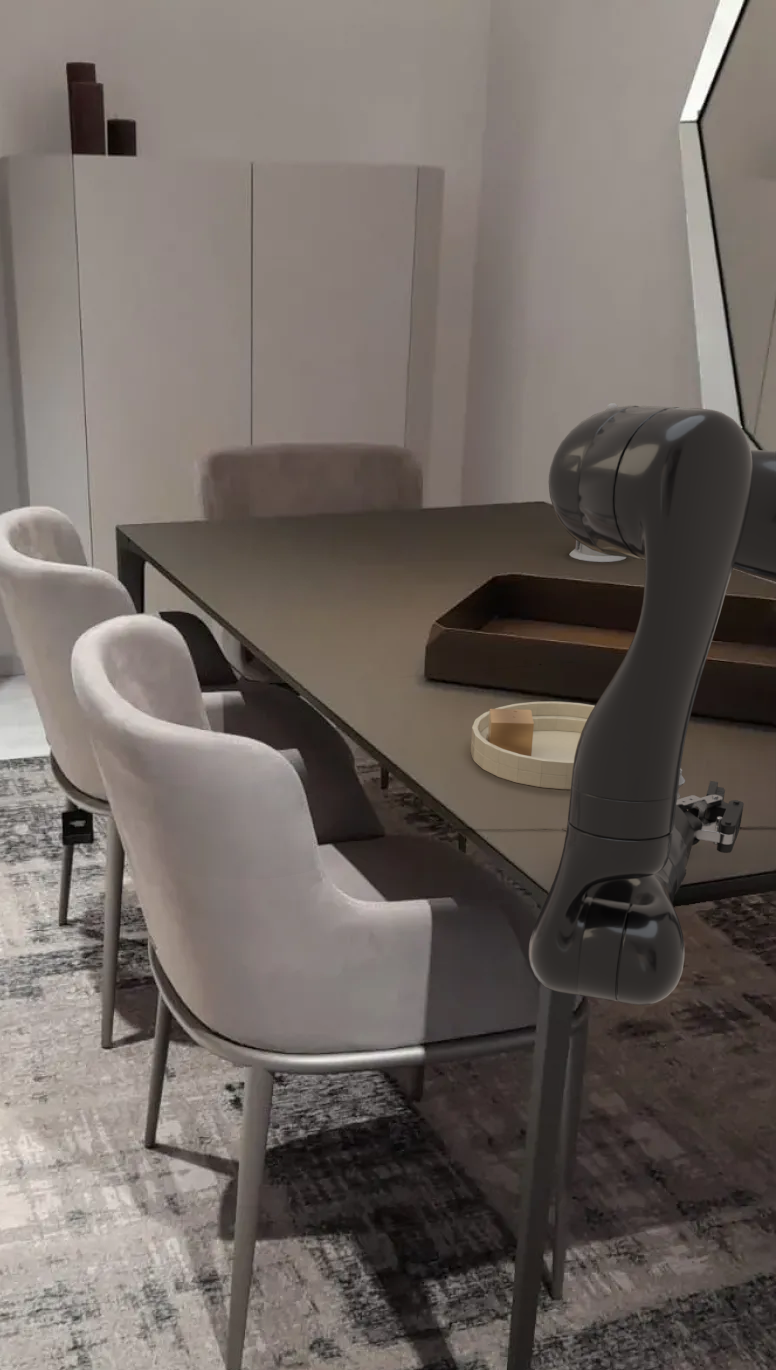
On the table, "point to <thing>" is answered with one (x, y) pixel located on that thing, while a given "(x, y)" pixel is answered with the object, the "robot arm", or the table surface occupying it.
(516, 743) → the block
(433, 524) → the table surface
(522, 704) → the round cream tray
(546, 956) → the robot arm
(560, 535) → the table surface
